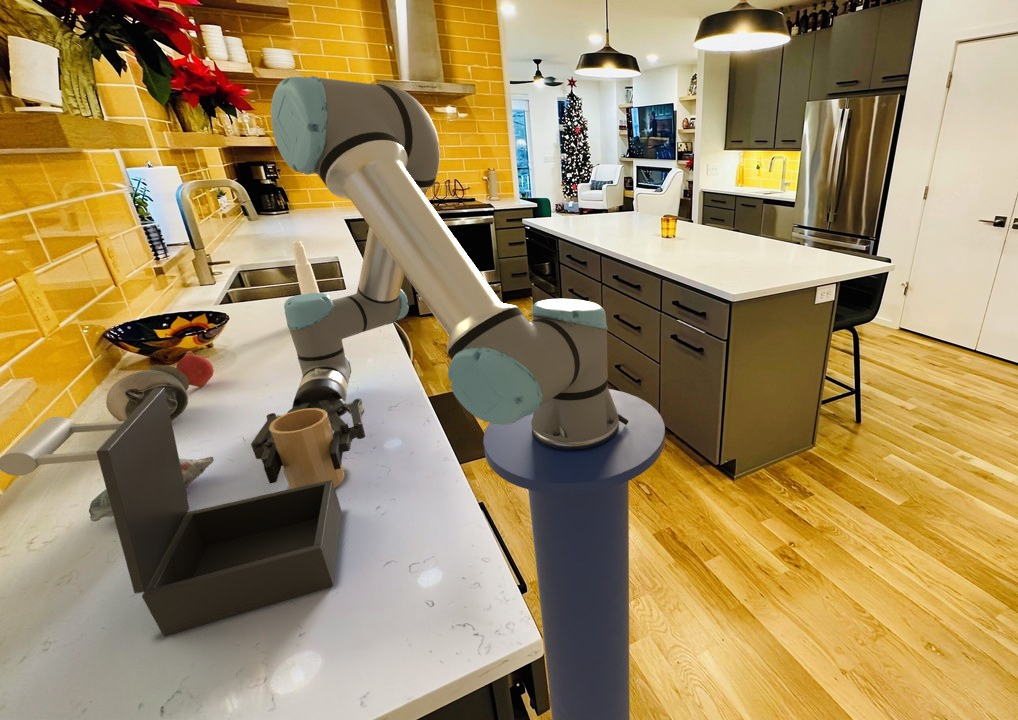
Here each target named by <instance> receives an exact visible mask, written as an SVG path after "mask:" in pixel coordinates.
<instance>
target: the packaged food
mask: <svg viewBox="0 0 1018 720" xmlns="http://www.w3.org/2000/svg"><path fill="white" fill-rule="evenodd" d="M179 461H180V466H181V471H182V475H183V480H184V485H185V490H186V489H187V488H188V487H189V485H191V483H193V482H194V481H195V480H196V479H197V478H199V477H200V476H201V475H203V473H204V472H205V471H206V469H207V468H209V466H210V465H212V464H213V463H214V461H215V459H214V457H213V456H209V457H205V458H198V459H196V458H195V459H193V458H179ZM88 513H89V515H90V516H89V518H90V521H91V522H95V523H96V522H99V521H100V520H101V519H102V518H106V517H108V518H111V517H114V515H113V512H112V508H111V504H110V501H109V497H108V493H107V489H106V488H105V489H104V490H103V491H102V492H101V493H99V494H98V495H97V496H96V497H95V498H94V499H92V501H90V505H89V507H88Z"/></svg>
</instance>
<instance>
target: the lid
mask: <svg viewBox="0 0 1018 720" xmlns="http://www.w3.org/2000/svg"><path fill="white" fill-rule="evenodd" d="M106 431H113V433H111V435H110V436H109V437H108V438H107V439H106V440H105V442H104V443H103V444H102V445H100V446H99V448H98V449H97V450H87V451H85V450H84V451H75V452H74V451H73V452H62V453H55V452H56V451H57V450H58V449H59V448H60V447H61V446H62V445H63V444H64V443H65V442H67V440H69V438H71V437H72V436H73V435H74V434H75V433H91V432H92V433H93V432H106ZM179 459H180V456H179V452H178V446H177V442H176V437H175V433H174V428H173V422H172V421H171V417H170V412H169V407H168V402H167V397H166V392H165V388H155V389H154V390H153V391H152V392H151V393H150V394H149V396H148V397H147V398H146V399H145V400H144V401H143V402H142V403H141V404H140V405H139V406H138V407H137V408H136V409H135V411H134V412H133V413H132V414H131V415H130V416H129V417H128V418H127V419H126V420H125V421H118V420H117V421H100V422H86V423H85V422H84V423H75V422H74V421H73V420H72V419H70V418H68V417H64V416H52V417H49V418H47V419H45V420H44V421H43V422H41V424H39V425H38V426H37V427H35V428H34V429H33V430H32V431H30V433H28V434H27V435H26V436H24V437H23V438H22V439H21V440H19V441H18V442H17V443H16V444H15V445H13V446H12V447H11V448H10V449H9V450H7V451H6V452H5V453H4V454H2V455H1V456H0V471H1V472H2V473H3V474H7V475H10V476H17V477H20V476H26V475H30V474H31V473H33V472H34V471H35V470H37V469H38V468H39V466H42V465H43V466H44V465H54V464H66V463H78V462H89V461H90V462H91V461H98V463H99V467H100V470H101V471H100V472H101V474H102V478H103V481H104V485H105V490H106V489H107V493H108V497H109V501H110V504H111V508H112V512H113V515H114V516H113V519H114V522H115V526H116V530H117V534H118V538H119V541H120V545H121V548H122V552H123V556H124V560H125V564H126V567H127V571H128V574H129V579H130V582H131V586H132V590H133V593H134V594H140V593H141V594H142V593H144V592H145V590H146V588H147V586H148V585H149V583H150V581H151V579H152V577H153V575H154V573H155V571H156V570H157V568H158V566H159V564H160V562H161V560H162V558H163V557H164V555H165V553H166V551H167V549H168V547H169V545H170V544H171V542H172V540H173V538H174V536H175V534H176V532H177V531H178V529H179V527H180V525H181V523H182V521H183V519H184V518H185V516H186V514H187V512H189V510H190V505H189V500H188V496H187V490H186V489H185V485H184V480H183V475H182V471H181V466H180V461H179Z"/></svg>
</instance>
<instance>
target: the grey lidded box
mask: <svg viewBox="0 0 1018 720" xmlns="http://www.w3.org/2000/svg"><path fill="white" fill-rule="evenodd" d="M342 519H343V511H342V507H341V504H340V501H339V499H338V495H337V491H336V488H334V484H333V481H332V480H328V481H324V482H319V483H315V484H311V485H306V486H302V487H297V488H293V489H290V488H289V489H285V490H280V491H276V492H270V493H266V494H262V495H258V496H253V497H248V498H244V499H239V500H236V501H232V502H231V501H230V502H227V503H221V504H217V505H213V506H208V507H205V508H200V509H195V510H191V511H188V512H187V514H186V516H185V518H184V519H183V521H182V523H181V525H180V527H179V529H178V531H177V532H176V534H175V536H174V538H173V540H172V542H171V544H170V545H169V547H168V549H167V551H166V553H165V555H164V557H163V558H162V560H161V562H160V564H159V566H158V568H157V570H156V571H155V573H154V575H153V577H152V579H151V581H150V583H149V585H148V586H147V588H146V590H145V592H142V595H141V598H142V599H143V601H144V603H145V605H146V607H147V609H148V611H149V612H150V614H151V616H152V618H153V620H154V621H155V623H156V625H157V628H158V629H159V630H160V632H161V634H162V636H163V637H165V636H169V635H172V634H176V633H178V632H182V631H185V630H188V629H192V628H196V627H199V626H203V625H205V624H209V623H213V622H216V621H219V620H224V619H225V618H229V617H233V616H236V615H239V614H243V613H247V612H250V611H253V610H256V609H259V608H263V607H266V606H270V605H273V604H276V603H279V602H283V601H287V600H290V599H292V598H297V597H300V596H304V595H307V594H311V593H313V592H317V591H321V590H323V589H327V588H330V587H333V586H334V583H335V574H336V567H337V559H338V550H339V542H340V534H341V526H342Z"/></svg>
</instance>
